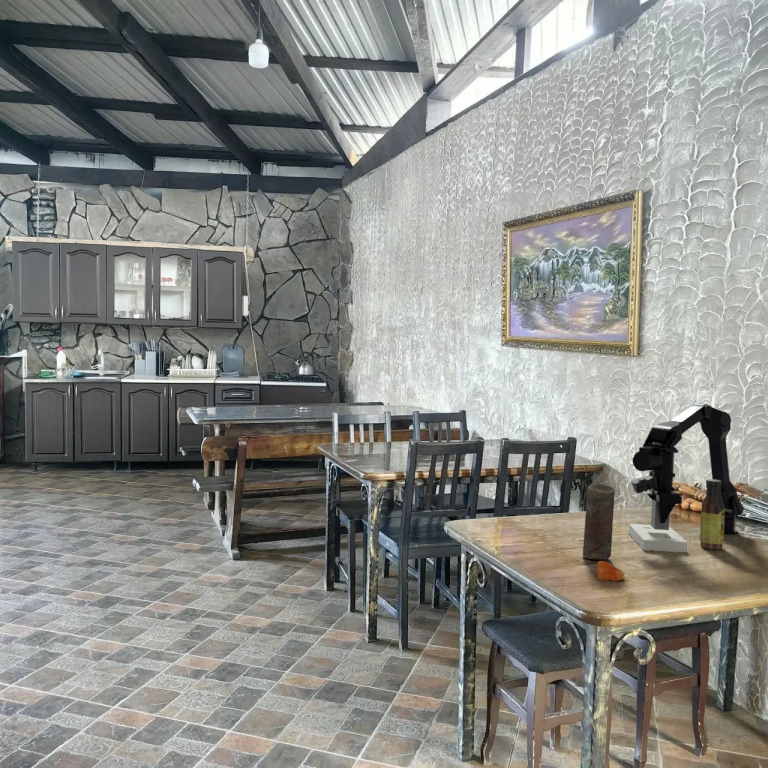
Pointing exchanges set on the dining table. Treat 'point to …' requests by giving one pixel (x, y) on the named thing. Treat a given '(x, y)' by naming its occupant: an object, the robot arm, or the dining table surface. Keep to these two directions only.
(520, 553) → the dining table surface
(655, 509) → the plug
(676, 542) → the socket plate
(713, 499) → the sauce bottle
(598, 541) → the candle
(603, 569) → the rock
